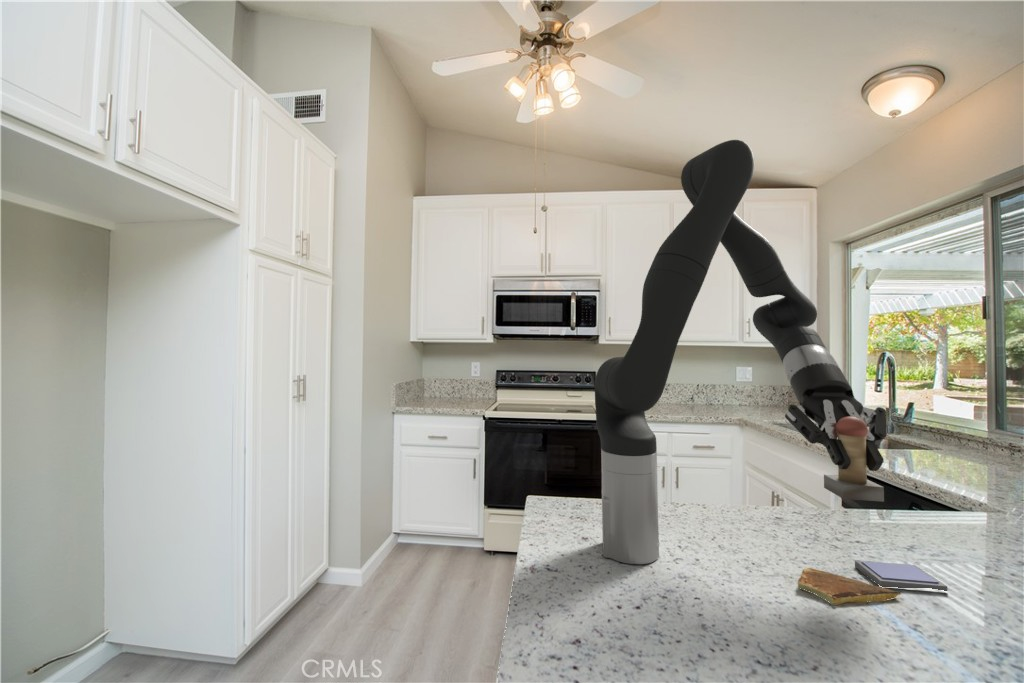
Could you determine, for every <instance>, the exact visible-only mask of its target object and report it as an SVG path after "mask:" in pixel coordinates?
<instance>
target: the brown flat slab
mask: <svg viewBox="0 0 1024 683" xmlns="http://www.w3.org/2000/svg"><path fill="white" fill-rule="evenodd" d="M797 586H798V587H797V588H798V589H799V588H801V589H805V590H807V591H806V592H808V591H810V592H812V593H815V594H817V595H818V596H820V597H822V598H824V599H826V600H827V601H829V602H830V603H829V602H828V603H829V604H831V605H833V604H834V606H838V605H840V604H841V605H842V604H846V603H873V602H872V601H875V602H874V603H877V602H876V601H881V602H885V601H884V600H887V599H891V598H895V597H898V596H900V595H902V592H901V591H896V590H893V589H888V588H882V587H879V586H878V585H874V584H873V585H872V584H869V583H867V582H863V581H861V580H857V579H853V578H850V577H846V576H843V575H839V574H835V573H832V572H829V571H828V572H827V571H823V570H819V569H816V568H811V567H808V568H804V569H802V570H801V575H800V577H799V578H798V580H797ZM801 589H800V590H801ZM805 590H804V591H805ZM810 592H809V593H810ZM812 593H811V594H812ZM818 596H817V597H818ZM820 597H819V598H820ZM822 598H821V599H822ZM824 599H823V600H824ZM826 600H825V601H826ZM827 601H826V602H827ZM867 601H868V602H867ZM869 601H871V602H869ZM845 602H846V603H845Z"/></svg>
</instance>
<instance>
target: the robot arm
mask: <svg viewBox="0 0 1024 683" xmlns="http://www.w3.org/2000/svg"><path fill="white" fill-rule="evenodd" d="M754 171H755V156H754V153H753V150H752V148H751V146H750V145H749V144H748V143H747V142H745V141H743V140H739V139H729V140H727V141H723V142H721V143H717V144H716V145H714V146H713V147H710V148H709V149H707V150H705V151H703V152H701V153H699V154H697V155H696V156H694V157H692V158H690V159H689V160H688V161H687V162H686V163H685V164H684V166H683V168H682V170H681V174H680V183H681V187H682V190H683V191H684V194H685V197H686V198H687V199H688V200H689V202H690V204H691V205H692V208H690V210H689V212H687V214H686V215H685V217H683V219H682V220H681V221H680V222H679V224H677V225H676V227H675V228H673V230H672V231H671V232H670V234H669V235H668V236H667V237H666V238H665V240H664V241H663V243H662V244H661V245H660V247H659V248H658V251H657V252H656V254H655V256H654V257H653V260H652V263H651V265H650V267H649V269H648V271H647V274H646V277H645V280H644V282H643V286H642V296H641V315H640V322H639V325H638V328H637V331H636V333H635V335H634V338H633V339H632V341H631V343H630V346H629V348H628V349H627V351H626V352H625V355H624V356H614V357H611V358H609V359H607V360H605V361H604V362H603V363H602V364H601V365H600V366H599V368H598V370H597V371H596V372H597V373H596V375H595V380H594V381H595V382H594V402H595V403H594V404H595V420H596V421H595V422H596V428H597V432H598V436H599V439H600V450H601V451H600V452H601V453H600V455H601V456H600V457H601V461H600V462H601V526H602V528H601V529H602V535H601V536H602V557H604V558H609V559H612V560H615V561H617V562H621V563H625V564H628V565H629V564H630V565H646V564H651V563H653V562H655V561H656V560H658V559H659V557H660V538H659V535H660V534H659V533H660V532H659V530H660V528H659V495H658V494H659V493H658V489H659V487H658V457H657V456H658V455H657V453H658V450H657V446H658V445H657V437H656V435H655V433H654V432H653V431H652V429H651V428H650V426H649V424H648V422H647V419H646V413H645V412H647V411H649V410H650V409H652V408H653V407H654V406H655V405H656V404H657V403H658V402H659V400H660V398H661V397H662V396H663V395H662V394H663V393H664V389H665V387H666V384H667V381H668V377H669V374H670V371H671V368H672V363H673V360H674V356H675V353H676V351H677V346H678V343H679V340H680V339H681V336H682V334H683V332H684V328H685V327H686V324H687V322H688V319H689V316H690V314H691V311H692V309H693V306H694V304H695V302H696V299H697V297H698V296H699V293H700V292H701V289H702V286H703V284H704V282H705V279H706V277H707V274H708V271H709V269H710V266H711V264H712V260H713V258H714V257H715V254H716V252H717V249H718V247H719V245H720V243H721V245H722V246H723V247H724V249H725V251H726V252H727V253H728V255H729V256H730V258H731V260H732V261H733V264H734V265H735V267H736V269H737V271H738V274H739V275H740V277H741V279H742V281H743V283H744V285H745V287H746V288H747V291H748V293H750V295H751V296H752V297H753V298H766V297H771V296H782V297H781V298H779V299H775V300H773V301H771V302H769V303H766V304H763V305H761V306H759V307H758V308H756V309H755V310H754V312H753V314H752V322H753V325H754V327H755V329H756V330H757V331H758V333H760V335H761V336H762V337H763V338H765V340H767V341H768V342H769V343H770V344H771V345H772V346H773V347H774V348H775V350H776V352H777V354H778V355H779V359H780V361H781V363H782V365H783V367H784V368H783V369H784V372H785V375H786V378H787V380H788V382H789V385H790V387H791V389H792V391H793V393H794V395H795V398H796V400H797V402H798V404H799V405H795V404H790V405H789V407H788V408H787V410H786V412H785V414H784V418H785V419H786V420H787V421H788V422H789V423H790V424H791V426H793V427H794V428H795V429H796V431H797V432H799V433H800V434H801V435H802V437H804V439H805V440H807V442H808V443H810V444H813V445H815V444H816V443H817V444H821V445H822V446H823V447H824V448H826V451H827V453H828V455H829V457H830V459H831V462H832V463H833V464H834V465H836V466H837V468H838V467H839V469H847V468H848V467H849V465H850V464H851V460H850V458H849V456H848V454H847V452H846V450H845V448H844V446H843V444H842V442H841V440H838V433H837V431H836V424H837V422H838V421H839V420H840V419H841V418H844V417H848V416H851V417H856V418H859V419H861V420H862V421H863V422H864V423H865V424H866V425H869V426H868V433H867V435H866V466H867V469H868V470H869V471H870V472H877V471H878V470H879V469H880V468H882V465H883V463H884V458H883V456H882V454H881V452H880V451H879V449H878V447H879V446H880V445H881V443H882V441H884V440H885V438H886V437H887V435H888V434H887V433H888V432H887V410H886V409H885V408H883V407H880V406H879V407H876V408H875V409H872V408H868V407H865V406H863V404H862V403H861V402H860V401H858V399H856V397H855V396H854V391H853V388H852V386H851V385H850V383H849V381H848V380H847V378H846V376H845V375H844V373H843V371H842V369H841V368H840V366H839V364H838V363H837V361H836V359H835V358H834V357H833V355H832V354H831V353H830V352H829V351H828V349H827V347H826V346H825V344H824V342H823V341H822V340H823V339H821V337H820V335H819V334H818V332H817V331H816V330H814V328H812V327H811V326H812V325H814V323H815V322H816V321H817V318H818V310H817V307H816V306H815V304H814V303H813V301H811V299H810V298H808V296H807V295H805V294H804V293H803V291H801V290H800V289H799V288H798V287H797V286H796V285H795V283H794V282H793V281H792V279H791V278H790V277H789V275H788V273H787V271H786V270H785V267H784V266H783V265H784V264H783V263H782V261H781V259H780V256H779V255H778V253H777V251H776V249H775V247H774V246H773V245H772V244H771V242H770V241H769V240H768V238H766V237H765V236H763V234H761V233H760V232H759V231H757V230H756V229H754V227H752V226H750V225H749V224H748V223H747V222H745V221H744V220H743V219H742V218H741V217H740V216H739V215H738V213H736V209H737V207H738V206H739V204H740V202H741V200H742V198H744V195H745V193H746V191H747V190H748V188H749V186H750V183H751V181H752V178H753V176H754ZM862 417H863V418H864V419H863V418H862ZM815 423H816V424H815Z"/></svg>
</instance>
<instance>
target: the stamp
mask: <svg viewBox="0 0 1024 683" xmlns="http://www.w3.org/2000/svg"><path fill="white" fill-rule="evenodd" d="M864 422H865V421H864ZM864 422H863V421H862V420H861V419H859V418H856V417H851V416H848V417H844V418H841V419H840V420H839V421H838V422H837V424H836V431H837V436H838V438H837V440H841V442H842V444H843V446H844V448H845V450H846V452H847V454H848V456H849V458H850V460H851V464H850V465H849V467H848V468H847V469H839V467H838V466H837V468H838V469H837V471H838V472H837V473H838V474H823V488H824V489H826V490H827V491H829V492H830V493H832V494H834V495H836V496H837V497H839V498H841V499H843V500H852V501H853V500H854V501H871V502H885V489H884V488H885V487H884V486H882V485H880V484H877V483H876V482H873V481H872V480H869V479H868V477H867V476H868V475H867V474H868V473H867V471H868V470H867V469H868V467H867V465H866V435H867V433H868V430H869V428H868V427H867V423H866V422H865V423H866V424H865V423H864Z"/></svg>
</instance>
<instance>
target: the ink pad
mask: <svg viewBox="0 0 1024 683" xmlns="http://www.w3.org/2000/svg"><path fill="white" fill-rule="evenodd" d="M854 567H855V569H857V570H858V571H859V572H861V573H862V574H863V575H864V574H865V575H864V576H866V577H867V576H868V577H869V578H870V579H869V578H868V577H867V578H868V579H869V580H871V579H872V580H873V581H875V582H876V583H877V584H879V585H880V586H882V587H898V588H932V589H938V590H944V591H949V590H948V585H947V584H944V582H942V581H940V580H939V579H937V578H935V577H934V576H933V575H930V574H929V573H928V572H926V570H925V571H924V570H923V569H922V568H920V567H919V566H917V565H916V564H907V563H893V562H879V561H866V560H854ZM872 580H871V581H872ZM873 581H872V582H873ZM876 583H875V584H876ZM877 584H876V585H877Z"/></svg>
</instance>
